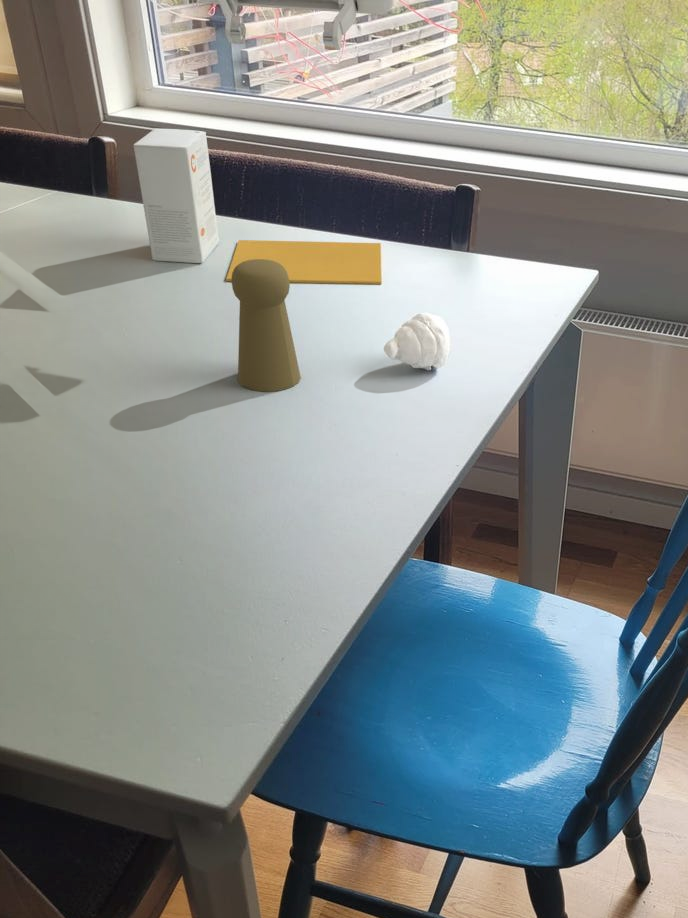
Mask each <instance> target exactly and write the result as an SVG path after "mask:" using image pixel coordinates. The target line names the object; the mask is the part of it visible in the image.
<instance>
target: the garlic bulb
mask: <svg viewBox="0 0 688 918" xmlns="http://www.w3.org/2000/svg"><path fill="white" fill-rule="evenodd" d="M383 351H384V353H385V355H386V356H387V357H388V358H389V359H390V360H399V361H401V363H405V364H406V365H410V366H411V368H413V369H423V370H427V371H431V370H432V367H433V368H435V369H437V370H438V369H441V368H442V367H444V366H445V364H446V362H447V360H448V358H449V356H450V353H451V336H450V331H449V328H448V326H447V324H446V323H445V320H444V319H443V318H442V317H441V316H440V315H434V314H432V313H429V312H419V313H418V314H416V315H414V316H413V317H412V318H411V319H409V320H407V321H406V322H404V323H403V324H402V325H401V326H400V327H399V328H398V329H397V330H396V332H395V333H394V337H392V338H391V339H390V340H388V341H387V342H386V343H385V345H383Z"/></svg>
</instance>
